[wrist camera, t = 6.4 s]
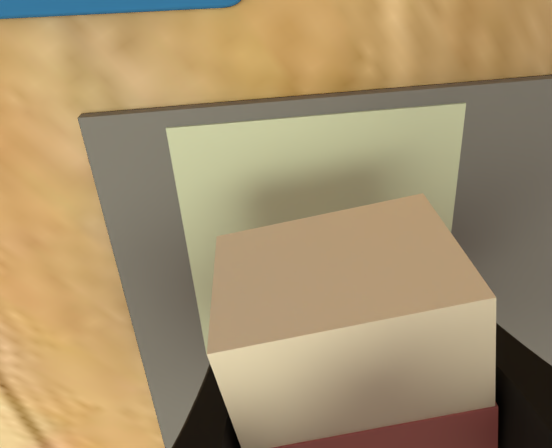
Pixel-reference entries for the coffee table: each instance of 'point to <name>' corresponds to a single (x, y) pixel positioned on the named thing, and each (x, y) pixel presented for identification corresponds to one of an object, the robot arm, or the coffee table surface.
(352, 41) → the coffee table surface
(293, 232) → the card deck
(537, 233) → the mat
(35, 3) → the handheld gaming device
